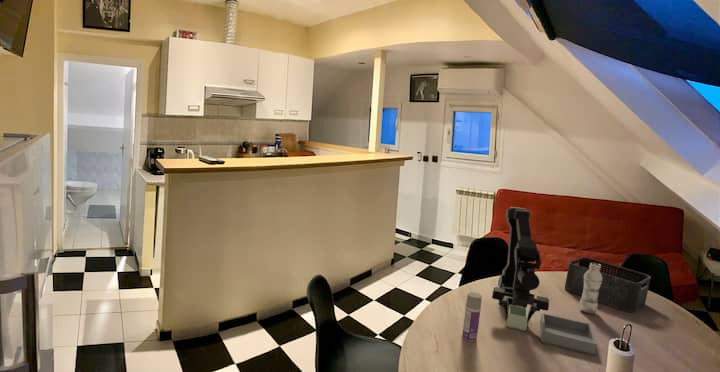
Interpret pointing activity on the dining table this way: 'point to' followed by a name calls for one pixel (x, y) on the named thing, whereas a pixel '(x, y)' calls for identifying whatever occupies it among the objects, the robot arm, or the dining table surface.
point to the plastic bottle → (591, 289)
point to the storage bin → (611, 284)
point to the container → (472, 317)
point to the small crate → (517, 317)
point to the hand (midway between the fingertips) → (516, 320)
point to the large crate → (567, 334)
